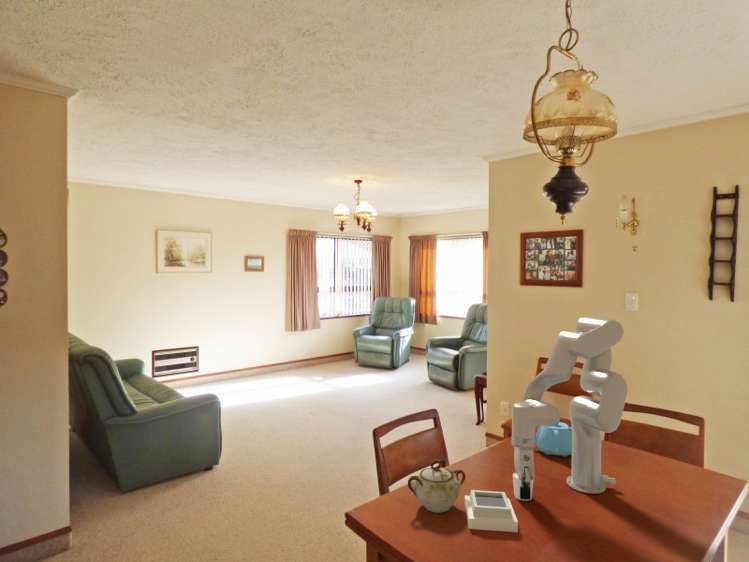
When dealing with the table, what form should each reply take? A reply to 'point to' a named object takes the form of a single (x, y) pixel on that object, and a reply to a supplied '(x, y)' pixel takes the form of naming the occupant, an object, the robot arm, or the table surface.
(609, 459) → the table surface
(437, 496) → the sugar bowl
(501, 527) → the stand
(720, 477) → the table surface
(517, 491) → the white short cylinder
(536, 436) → the decorative pot
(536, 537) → the table surface
